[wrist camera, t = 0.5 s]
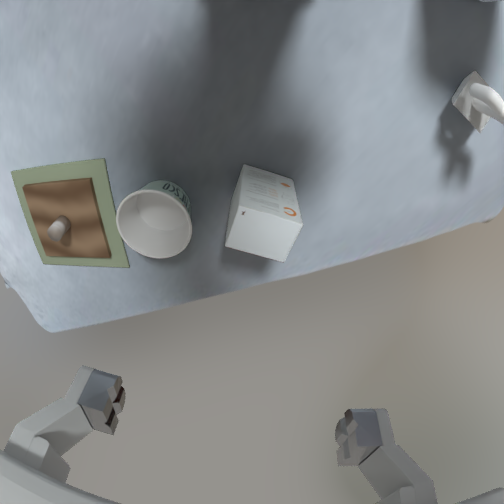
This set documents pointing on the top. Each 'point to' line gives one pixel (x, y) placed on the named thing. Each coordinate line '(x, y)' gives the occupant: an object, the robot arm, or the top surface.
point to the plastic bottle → (489, 0)
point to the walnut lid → (68, 218)
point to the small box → (263, 214)
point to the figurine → (478, 101)
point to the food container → (156, 220)
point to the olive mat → (104, 200)
